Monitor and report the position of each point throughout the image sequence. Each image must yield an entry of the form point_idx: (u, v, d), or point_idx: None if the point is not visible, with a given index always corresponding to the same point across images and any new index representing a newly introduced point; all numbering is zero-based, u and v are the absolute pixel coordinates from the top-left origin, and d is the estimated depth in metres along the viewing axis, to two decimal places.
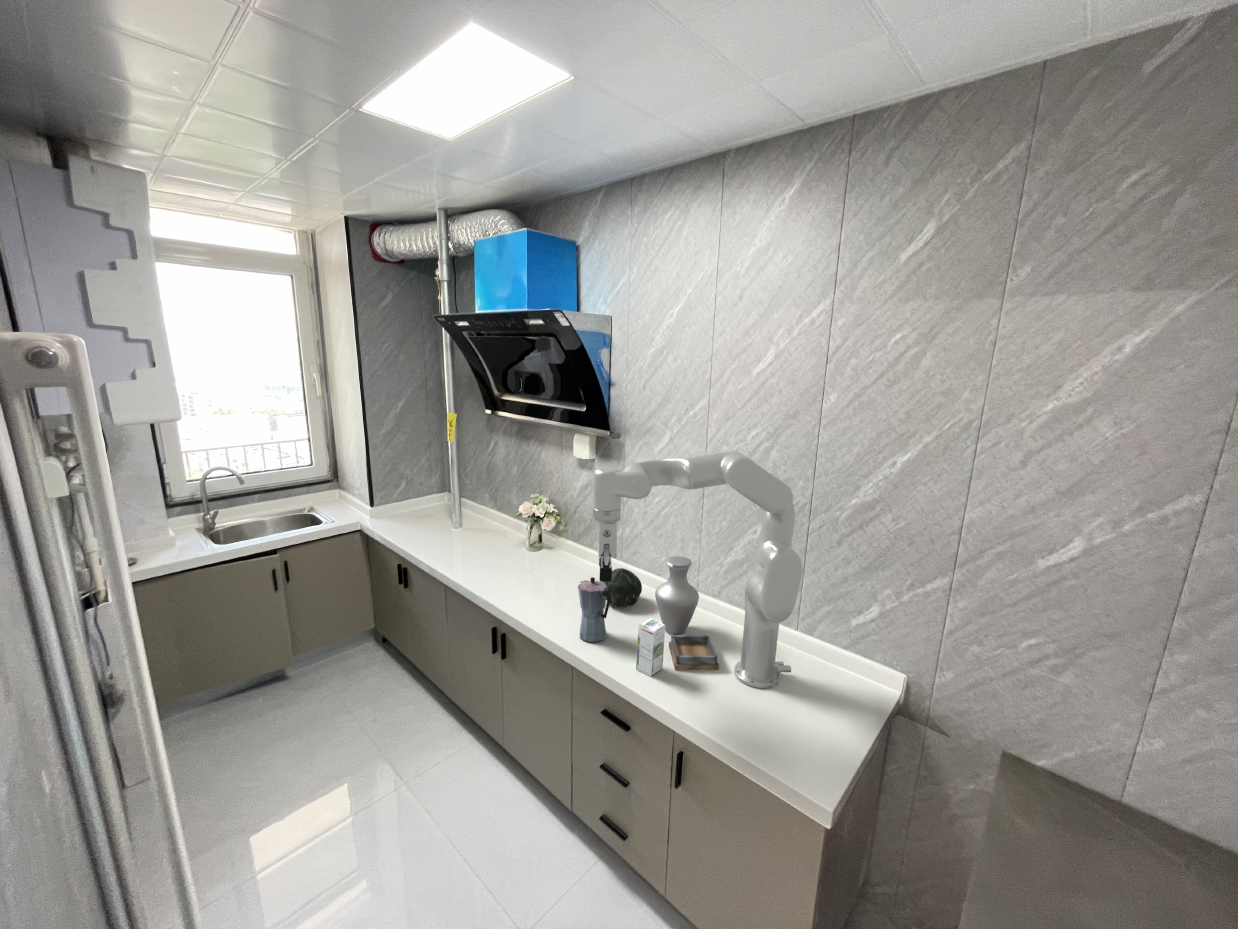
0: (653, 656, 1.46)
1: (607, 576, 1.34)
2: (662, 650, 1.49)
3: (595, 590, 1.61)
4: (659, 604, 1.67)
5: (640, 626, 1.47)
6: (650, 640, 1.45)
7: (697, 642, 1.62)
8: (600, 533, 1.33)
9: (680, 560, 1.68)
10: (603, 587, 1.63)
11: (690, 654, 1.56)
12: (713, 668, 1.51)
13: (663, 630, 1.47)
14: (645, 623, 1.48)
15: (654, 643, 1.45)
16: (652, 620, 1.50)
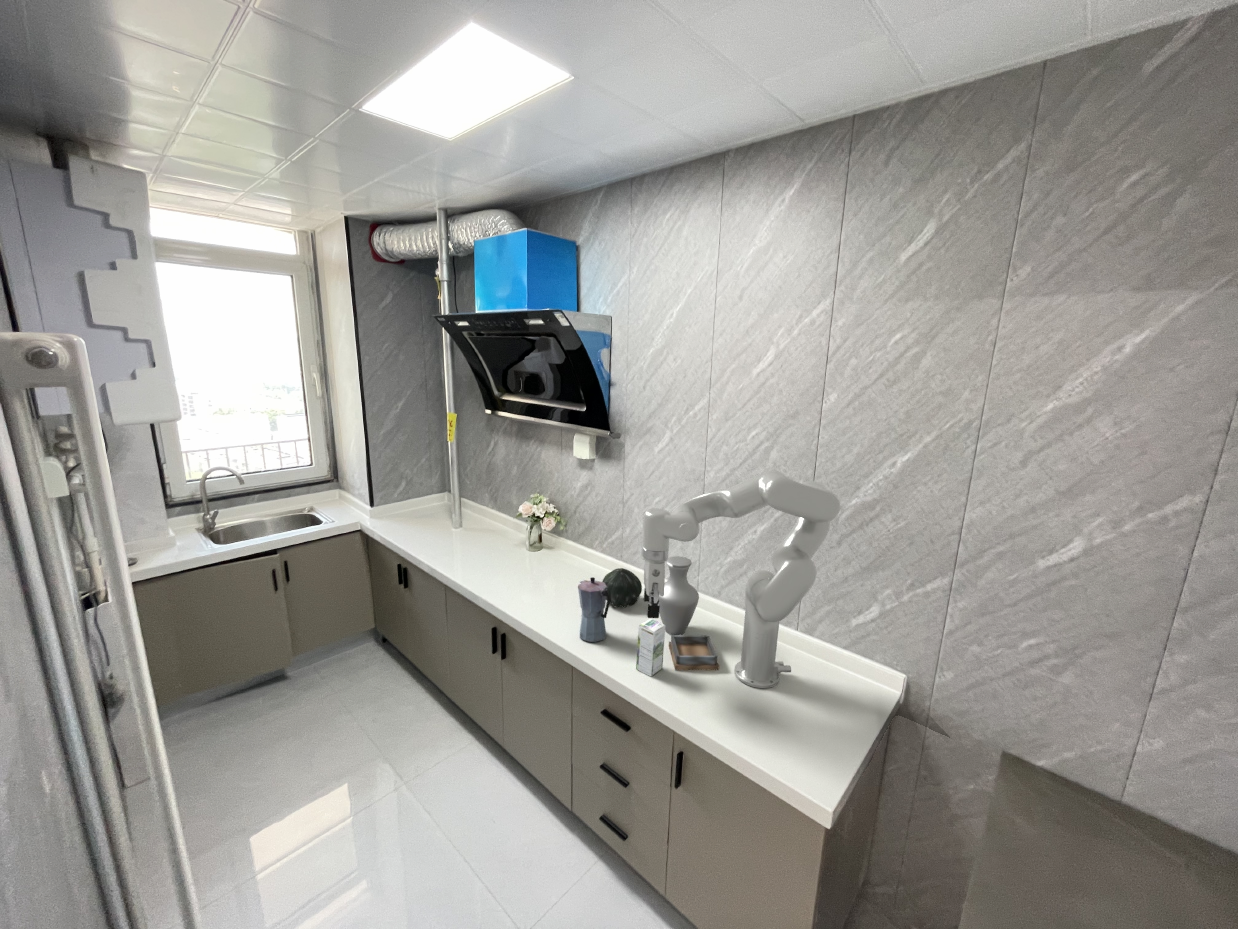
0: (653, 656, 1.46)
1: (655, 613, 1.41)
2: (662, 650, 1.49)
3: (595, 590, 1.61)
4: None
5: (640, 626, 1.47)
6: (650, 640, 1.45)
7: (697, 642, 1.62)
8: (649, 572, 1.39)
9: (680, 560, 1.68)
10: (603, 587, 1.63)
11: (690, 654, 1.56)
12: (713, 668, 1.51)
13: (663, 630, 1.47)
14: (645, 623, 1.48)
15: (654, 643, 1.45)
16: (652, 620, 1.50)
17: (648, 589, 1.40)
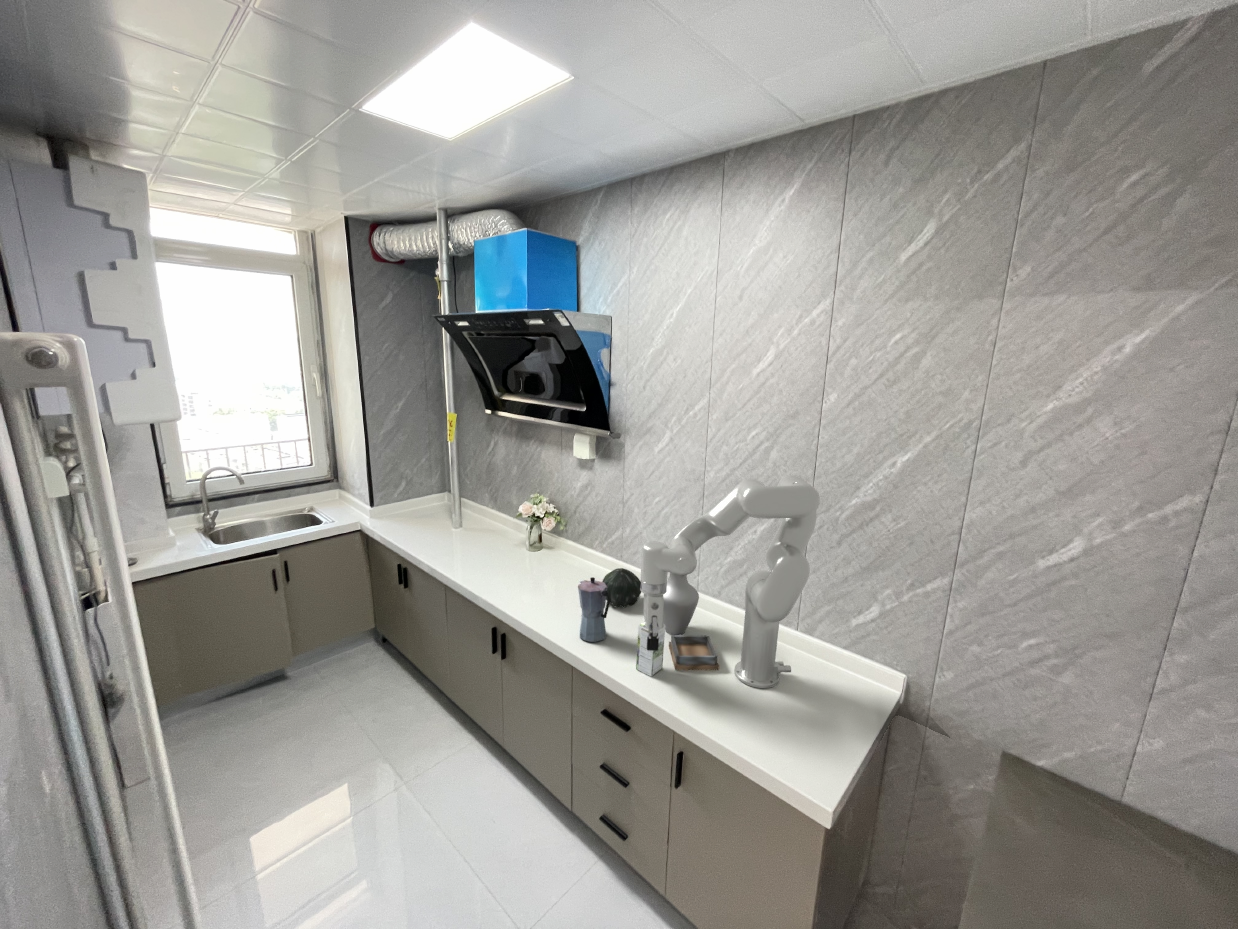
0: (653, 656, 1.46)
1: (654, 646, 1.43)
2: (662, 650, 1.49)
3: (595, 590, 1.61)
4: None
5: (640, 626, 1.47)
6: None
7: (697, 642, 1.62)
8: (648, 605, 1.41)
9: None
10: (603, 587, 1.63)
11: (690, 654, 1.56)
12: (713, 668, 1.51)
13: (663, 630, 1.47)
14: None
15: None
16: None
17: (647, 622, 1.42)
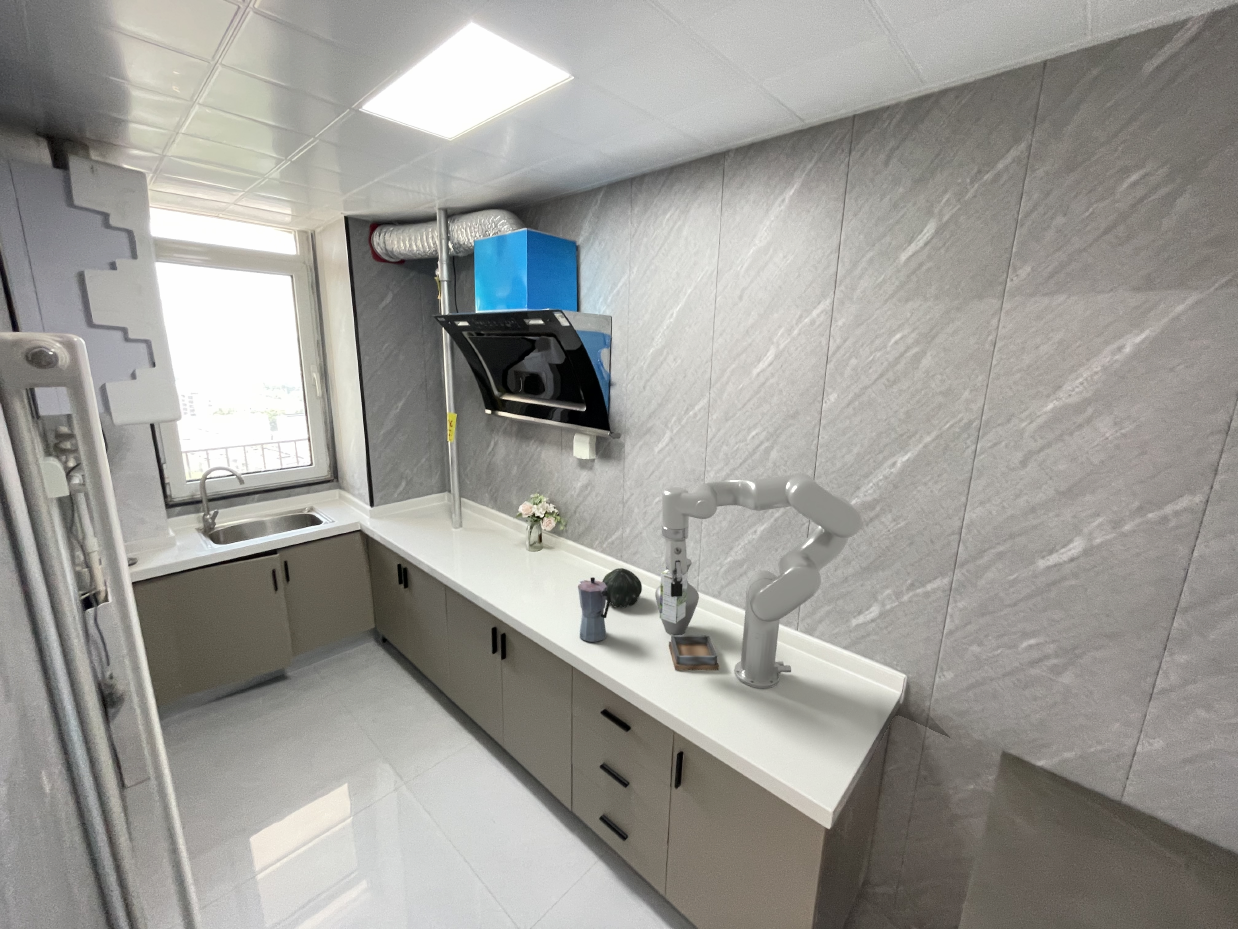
0: (677, 603, 1.45)
1: (678, 591, 1.43)
2: (685, 597, 1.48)
3: (595, 590, 1.61)
4: (659, 604, 1.67)
5: (662, 573, 1.46)
6: None
7: (697, 642, 1.62)
8: (671, 550, 1.41)
9: None
10: (603, 587, 1.63)
11: (690, 654, 1.56)
12: (713, 668, 1.51)
13: (685, 577, 1.47)
14: (667, 571, 1.47)
15: None
16: None
17: (671, 567, 1.42)
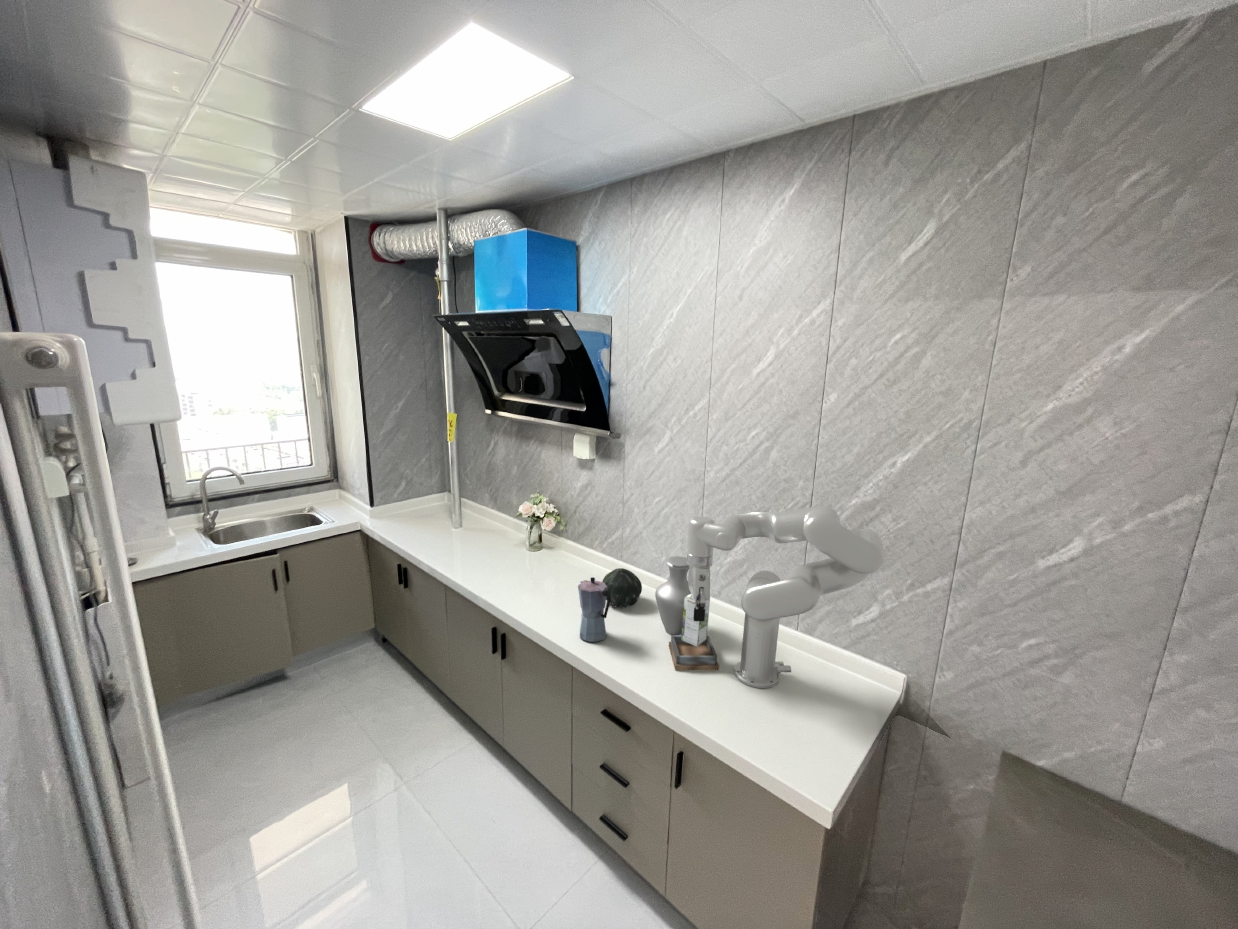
0: (699, 627, 1.51)
1: (701, 616, 1.49)
2: (707, 621, 1.54)
3: (595, 590, 1.61)
4: (659, 604, 1.67)
5: (686, 598, 1.52)
6: None
7: None
8: (696, 577, 1.47)
9: (680, 560, 1.68)
10: (603, 587, 1.63)
11: (690, 654, 1.56)
12: (713, 668, 1.51)
13: (708, 602, 1.53)
14: (690, 595, 1.53)
15: None
16: None
17: (695, 593, 1.47)
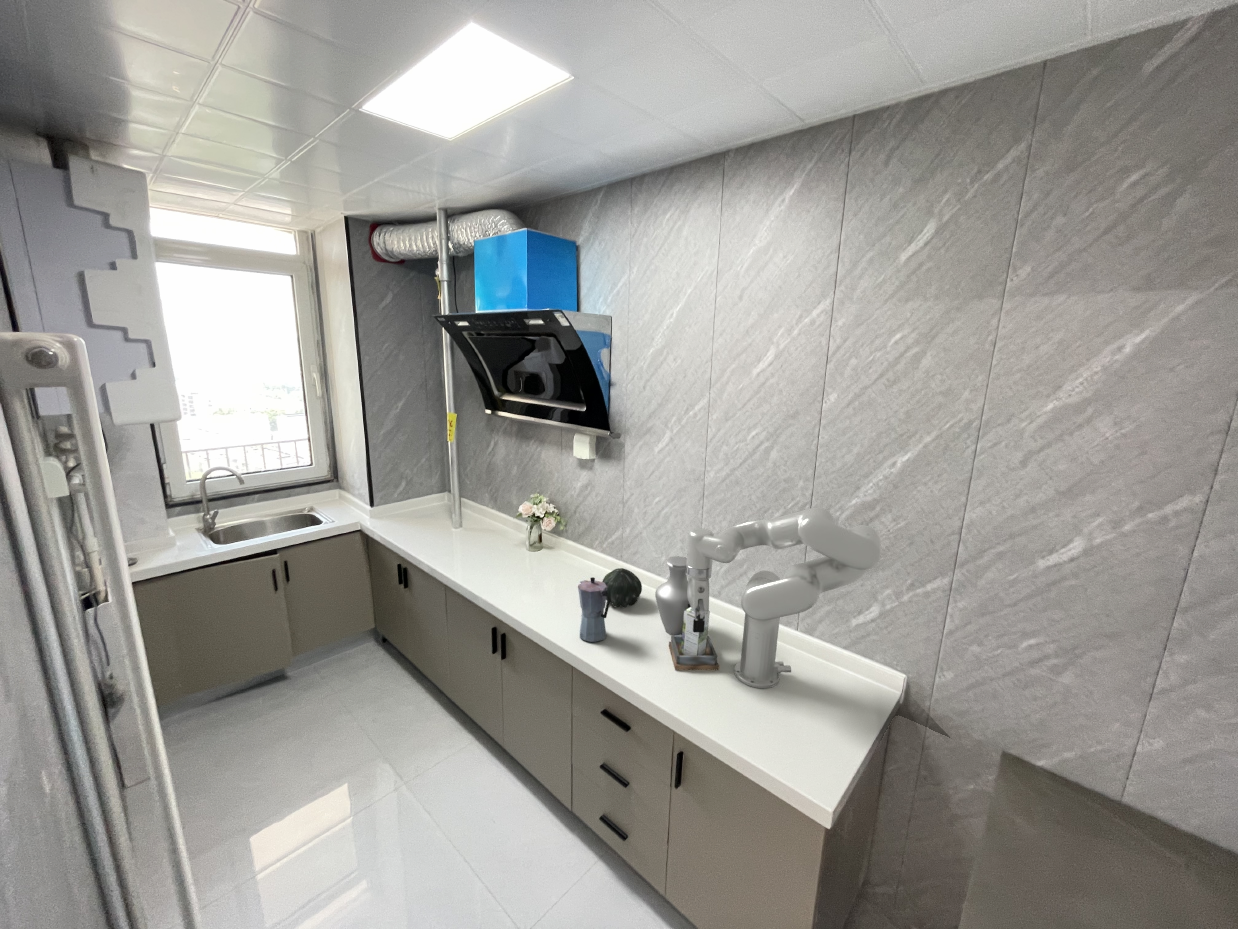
0: (699, 640, 1.52)
1: (700, 628, 1.49)
2: (706, 635, 1.55)
3: (595, 590, 1.61)
4: (659, 604, 1.67)
5: (686, 611, 1.53)
6: None
7: None
8: (695, 589, 1.48)
9: (680, 560, 1.68)
10: (603, 587, 1.63)
11: None
12: (713, 668, 1.51)
13: (708, 615, 1.54)
14: (690, 609, 1.54)
15: None
16: None
17: (694, 605, 1.48)
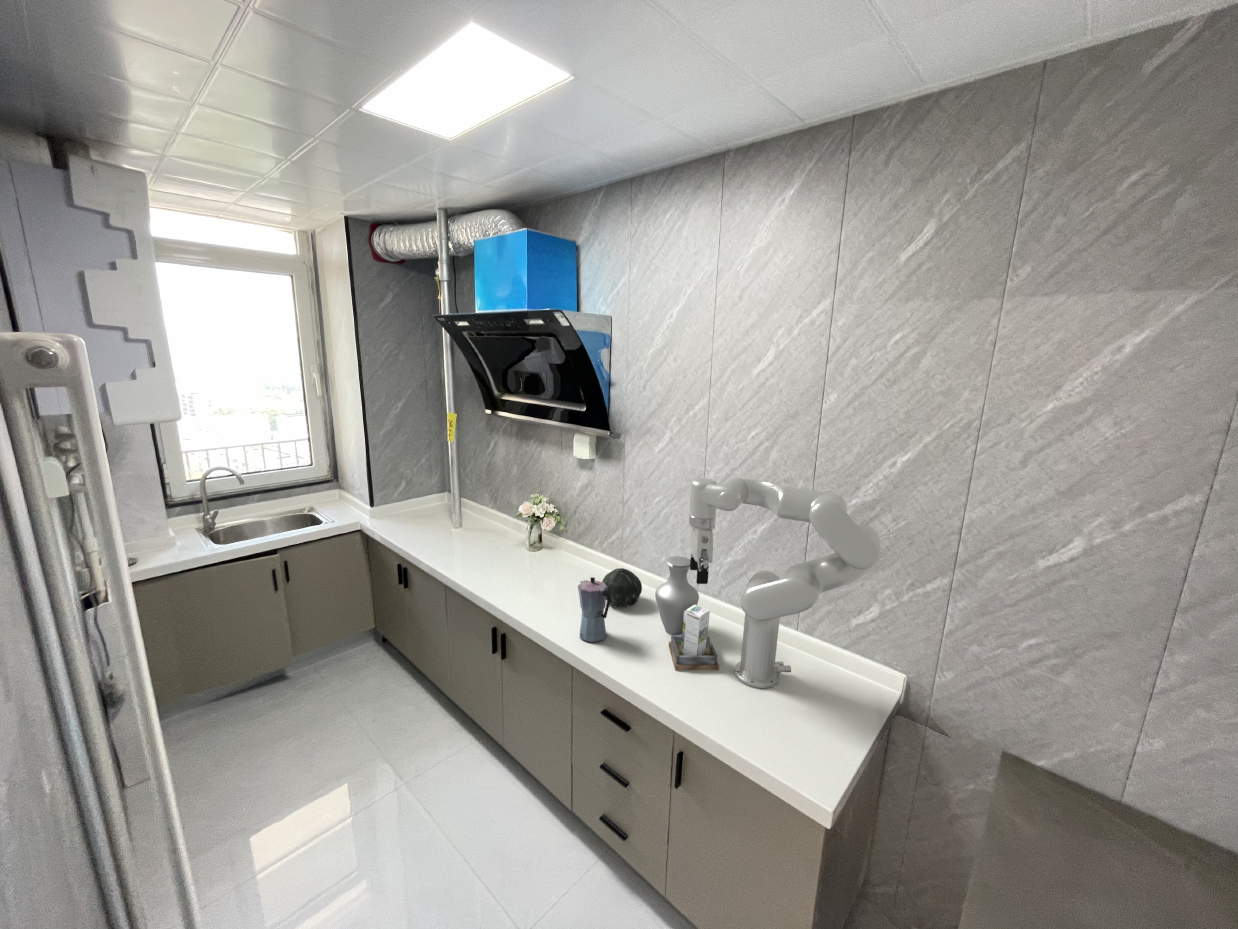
0: (699, 640, 1.52)
1: (704, 579, 1.46)
2: (706, 635, 1.55)
3: (595, 590, 1.61)
4: (659, 604, 1.67)
5: (686, 612, 1.53)
6: (696, 625, 1.51)
7: None
8: (698, 539, 1.45)
9: (680, 560, 1.68)
10: (603, 587, 1.63)
11: None
12: (713, 668, 1.51)
13: (708, 615, 1.54)
14: (690, 609, 1.54)
15: (700, 628, 1.51)
16: (696, 606, 1.56)
17: (697, 555, 1.45)
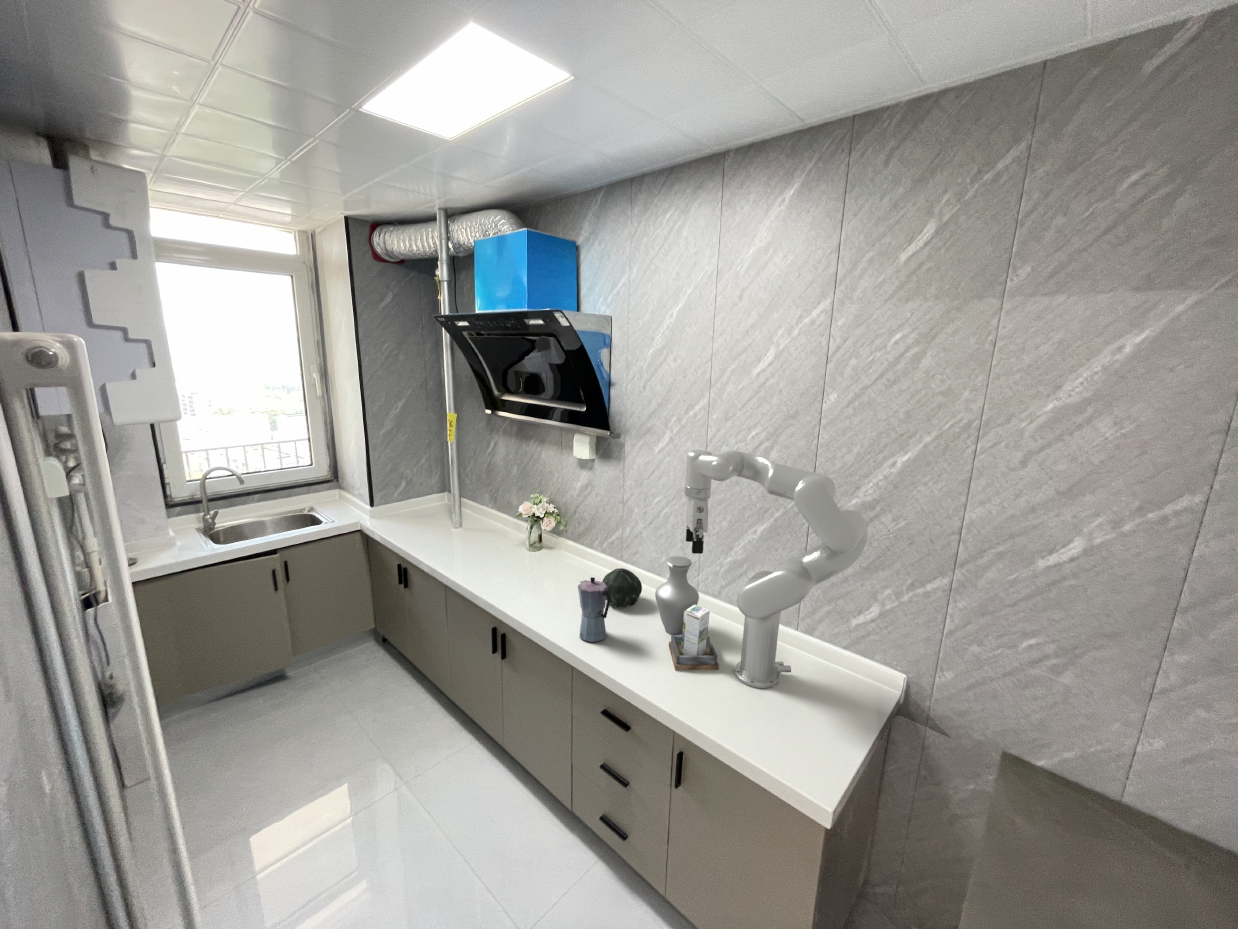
0: (699, 640, 1.52)
1: (699, 548, 1.48)
2: (706, 635, 1.55)
3: (595, 590, 1.61)
4: (659, 604, 1.67)
5: (686, 612, 1.53)
6: (696, 625, 1.51)
7: None
8: (694, 509, 1.47)
9: (680, 560, 1.68)
10: (603, 587, 1.63)
11: None
12: (713, 668, 1.51)
13: (708, 615, 1.54)
14: (690, 609, 1.54)
15: (700, 628, 1.51)
16: (696, 606, 1.56)
17: (692, 525, 1.47)
